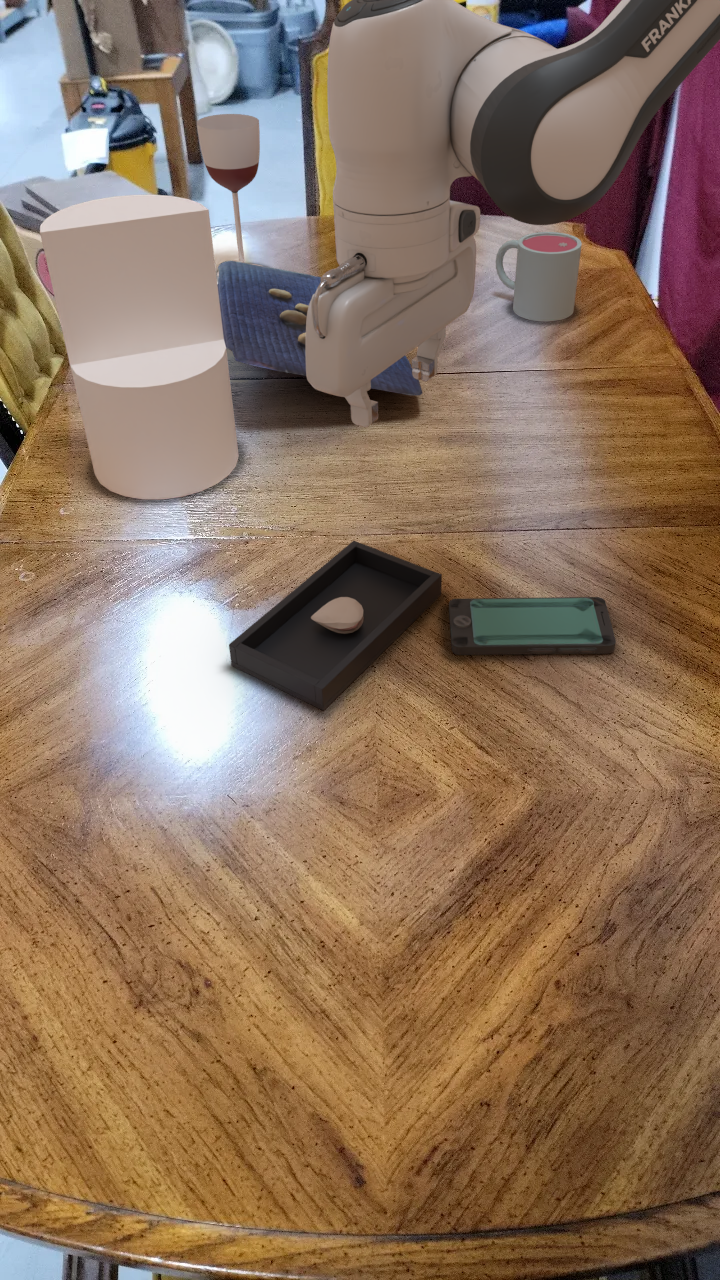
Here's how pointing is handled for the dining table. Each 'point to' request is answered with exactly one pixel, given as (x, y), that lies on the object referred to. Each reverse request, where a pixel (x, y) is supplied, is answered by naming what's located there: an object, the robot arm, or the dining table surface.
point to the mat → (281, 322)
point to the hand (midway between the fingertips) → (395, 399)
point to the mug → (543, 275)
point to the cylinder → (144, 341)
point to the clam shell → (340, 615)
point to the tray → (324, 659)
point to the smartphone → (530, 626)
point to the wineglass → (231, 156)
